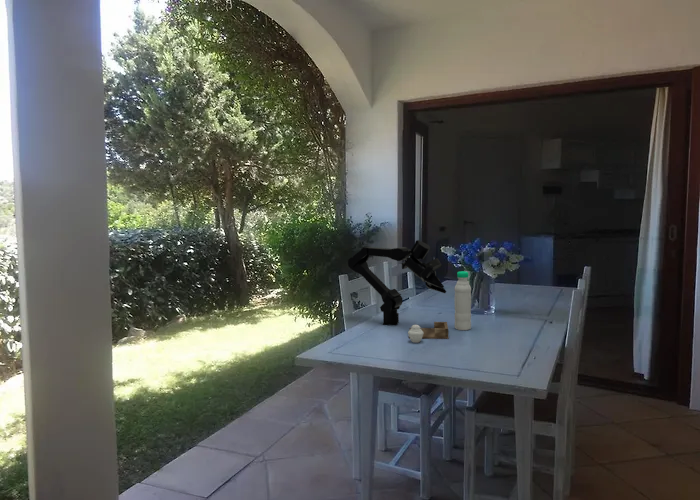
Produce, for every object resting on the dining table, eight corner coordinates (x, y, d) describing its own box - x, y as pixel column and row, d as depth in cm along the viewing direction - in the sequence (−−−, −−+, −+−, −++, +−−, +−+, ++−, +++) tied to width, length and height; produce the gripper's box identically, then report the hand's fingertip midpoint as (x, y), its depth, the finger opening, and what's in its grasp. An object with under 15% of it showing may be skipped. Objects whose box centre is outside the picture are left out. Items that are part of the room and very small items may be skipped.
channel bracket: (408, 338, 200) (408, 329, 200) (409, 329, 214) (409, 321, 213) (448, 339, 198) (448, 329, 197) (446, 330, 211) (446, 321, 211)
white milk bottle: (471, 327, 216) (471, 270, 213) (470, 331, 209) (470, 273, 207) (455, 326, 218) (455, 270, 215) (453, 330, 211) (453, 272, 209)
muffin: (419, 344, 191) (419, 327, 190) (405, 342, 194) (405, 325, 194) (426, 340, 196) (425, 323, 196) (412, 338, 199) (411, 321, 199)
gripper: (426, 247, 206) (455, 270, 200) (432, 259, 223) (459, 281, 216) (408, 266, 206) (436, 290, 199) (416, 277, 223) (442, 300, 216)
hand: (444, 290), depth 208 cm, fingers open, 9 cm apart
